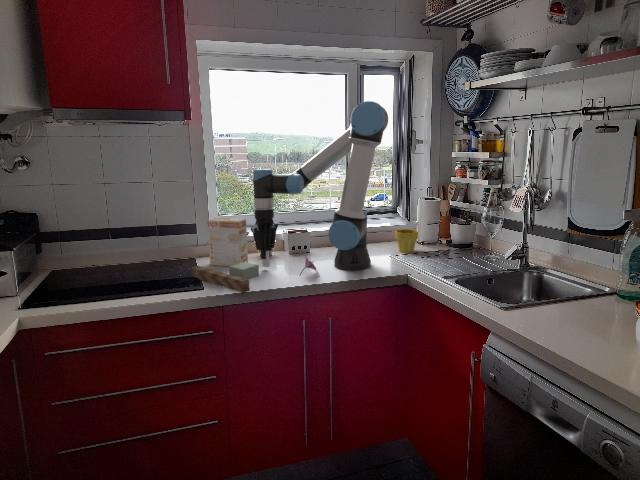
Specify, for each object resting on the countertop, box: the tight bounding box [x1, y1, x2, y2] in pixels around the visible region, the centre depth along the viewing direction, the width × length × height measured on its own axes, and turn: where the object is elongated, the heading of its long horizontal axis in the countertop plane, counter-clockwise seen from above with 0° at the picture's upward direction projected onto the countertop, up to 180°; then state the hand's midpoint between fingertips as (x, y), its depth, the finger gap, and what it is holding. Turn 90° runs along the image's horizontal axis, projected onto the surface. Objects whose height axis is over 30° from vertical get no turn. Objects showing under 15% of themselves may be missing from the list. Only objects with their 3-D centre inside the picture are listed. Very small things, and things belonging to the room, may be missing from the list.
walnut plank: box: [190, 265, 251, 293], centre depth 164 cm, size 30×3×4 cm, turn 50°
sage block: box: [228, 262, 260, 280], centre depth 173 cm, size 8×8×4 cm
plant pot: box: [394, 228, 419, 254], centre depth 210 cm, size 10×10×10 cm
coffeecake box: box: [206, 217, 249, 267], centre depth 189 cm, size 15×7×20 cm, turn 69°
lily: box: [299, 249, 320, 277], centre depth 173 cm, size 12×12×10 cm
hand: (266, 266), depth 182 cm, fingers closed
